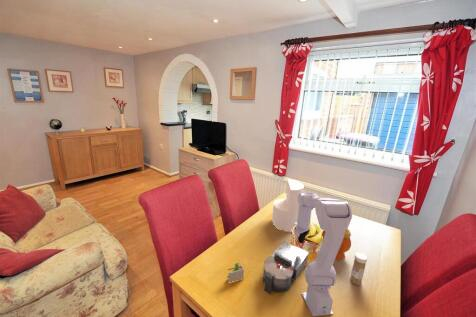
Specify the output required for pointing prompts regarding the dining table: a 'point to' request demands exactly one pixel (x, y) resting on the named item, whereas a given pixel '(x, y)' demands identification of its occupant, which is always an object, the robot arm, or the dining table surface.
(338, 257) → the orange lumpy piece
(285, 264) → the lid
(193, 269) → the dining table surface
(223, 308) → the dining table surface
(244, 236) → the dining table surface
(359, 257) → the sprinkles bottle
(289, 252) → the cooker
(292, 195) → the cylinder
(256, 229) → the dining table surface
